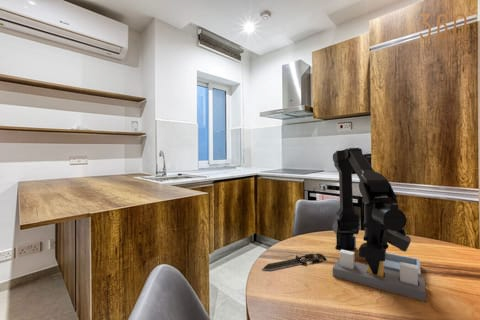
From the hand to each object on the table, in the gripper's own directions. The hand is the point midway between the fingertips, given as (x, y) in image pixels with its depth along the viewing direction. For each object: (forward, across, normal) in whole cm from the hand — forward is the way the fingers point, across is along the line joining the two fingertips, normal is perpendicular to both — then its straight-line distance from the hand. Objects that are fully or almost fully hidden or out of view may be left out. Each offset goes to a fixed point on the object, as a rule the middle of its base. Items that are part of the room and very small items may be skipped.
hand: (375, 271), depth 69 cm
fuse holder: (+3, 0, 0) cm, 3 cm away
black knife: (+4, -3, +25) cm, 25 cm away
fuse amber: (+3, 0, 0) cm, 3 cm away
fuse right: (+3, 0, -8) cm, 9 cm away
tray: (+3, +12, -4) cm, 13 cm away
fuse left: (+3, 0, +8) cm, 9 cm away
